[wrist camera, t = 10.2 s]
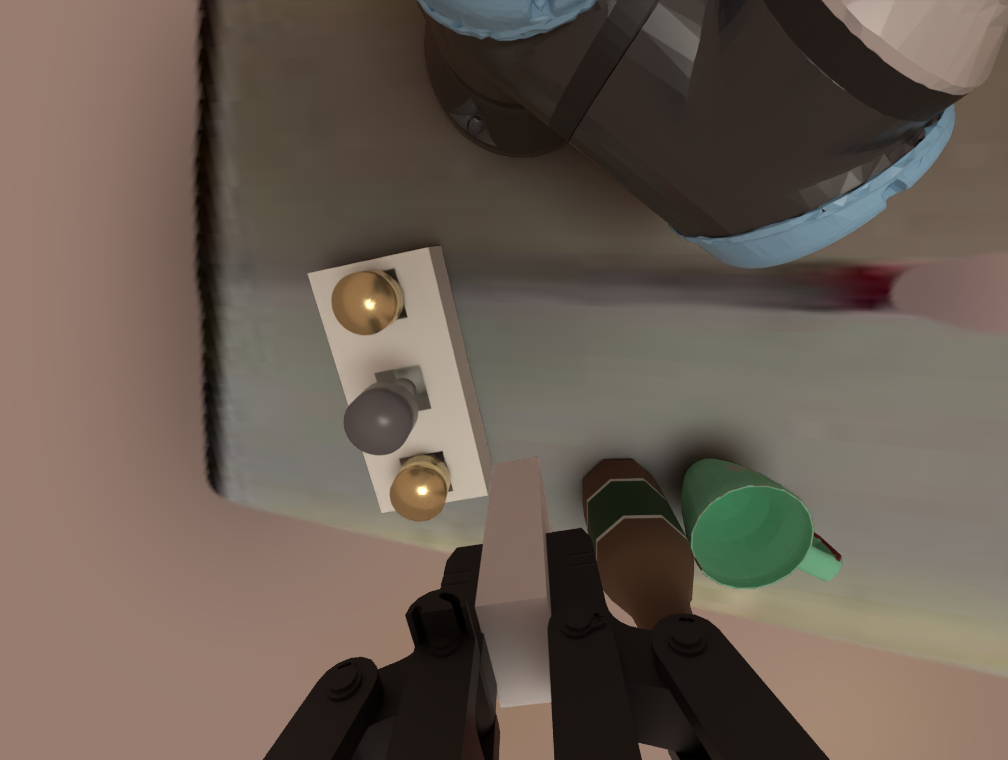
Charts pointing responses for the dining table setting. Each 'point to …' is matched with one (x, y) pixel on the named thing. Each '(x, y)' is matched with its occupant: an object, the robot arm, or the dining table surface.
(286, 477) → the dining table surface
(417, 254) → the panel
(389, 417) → the knob mid
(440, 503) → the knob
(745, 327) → the dining table surface
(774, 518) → the mug
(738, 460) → the dining table surface
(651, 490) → the beer bottle
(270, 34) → the dining table surface
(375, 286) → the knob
